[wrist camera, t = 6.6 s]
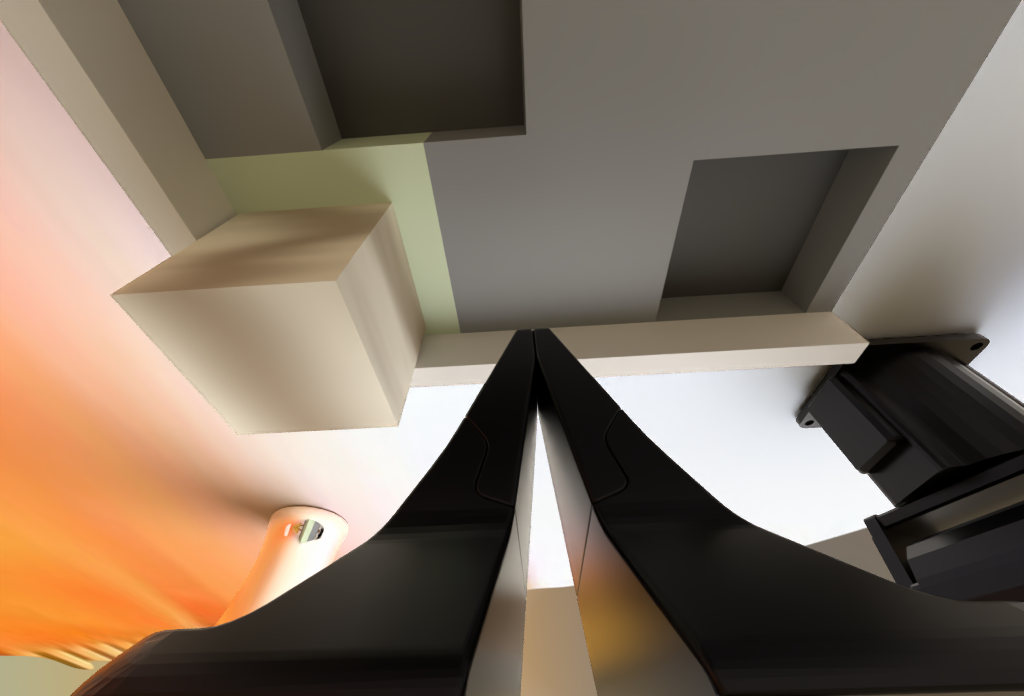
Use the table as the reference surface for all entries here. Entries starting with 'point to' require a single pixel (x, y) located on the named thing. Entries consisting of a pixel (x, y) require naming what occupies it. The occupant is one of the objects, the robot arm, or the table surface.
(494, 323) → the trap deck
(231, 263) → the ivory block
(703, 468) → the table surface
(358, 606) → the robot arm
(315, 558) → the beer glass
